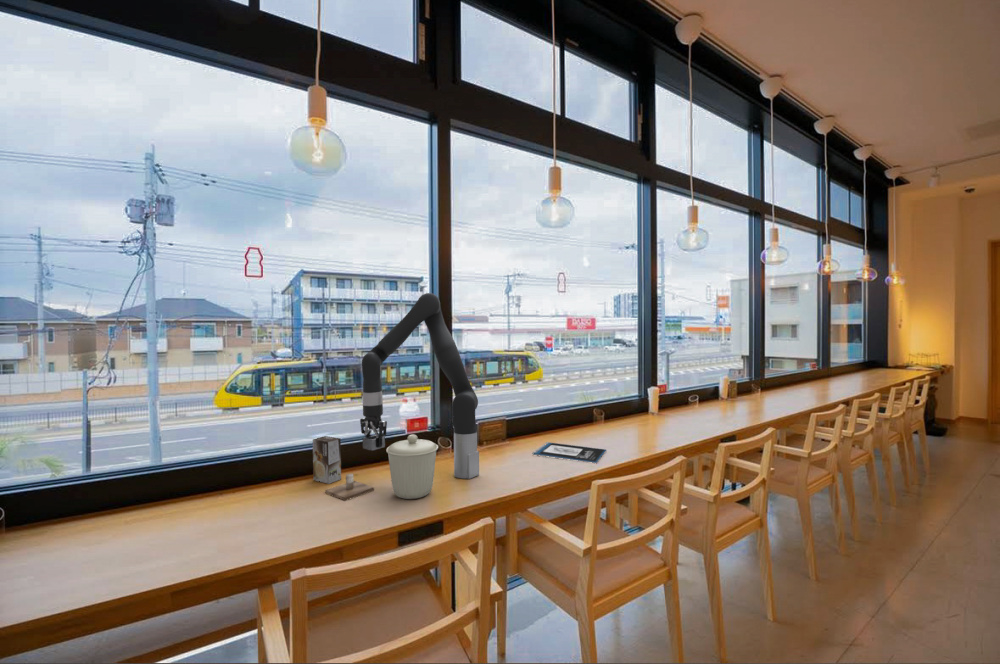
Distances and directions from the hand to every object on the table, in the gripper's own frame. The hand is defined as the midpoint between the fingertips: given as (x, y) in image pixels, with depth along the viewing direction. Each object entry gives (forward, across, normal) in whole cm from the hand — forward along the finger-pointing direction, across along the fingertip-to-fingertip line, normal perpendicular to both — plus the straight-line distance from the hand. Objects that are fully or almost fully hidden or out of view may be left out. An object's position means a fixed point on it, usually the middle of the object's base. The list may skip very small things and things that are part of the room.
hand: (373, 445), depth 170 cm
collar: (+1, 0, 0) cm, 1 cm away
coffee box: (+13, +14, +12) cm, 22 cm away
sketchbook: (+15, -46, -76) cm, 90 cm away
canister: (+13, -24, +2) cm, 28 cm away
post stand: (+13, -4, +14) cm, 19 cm away
